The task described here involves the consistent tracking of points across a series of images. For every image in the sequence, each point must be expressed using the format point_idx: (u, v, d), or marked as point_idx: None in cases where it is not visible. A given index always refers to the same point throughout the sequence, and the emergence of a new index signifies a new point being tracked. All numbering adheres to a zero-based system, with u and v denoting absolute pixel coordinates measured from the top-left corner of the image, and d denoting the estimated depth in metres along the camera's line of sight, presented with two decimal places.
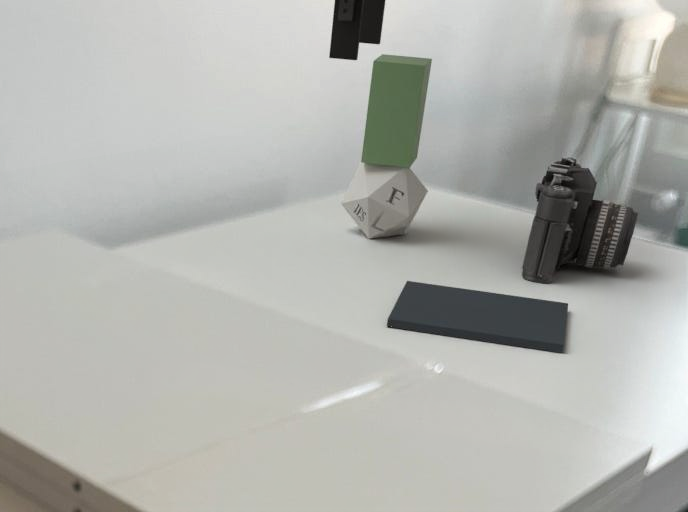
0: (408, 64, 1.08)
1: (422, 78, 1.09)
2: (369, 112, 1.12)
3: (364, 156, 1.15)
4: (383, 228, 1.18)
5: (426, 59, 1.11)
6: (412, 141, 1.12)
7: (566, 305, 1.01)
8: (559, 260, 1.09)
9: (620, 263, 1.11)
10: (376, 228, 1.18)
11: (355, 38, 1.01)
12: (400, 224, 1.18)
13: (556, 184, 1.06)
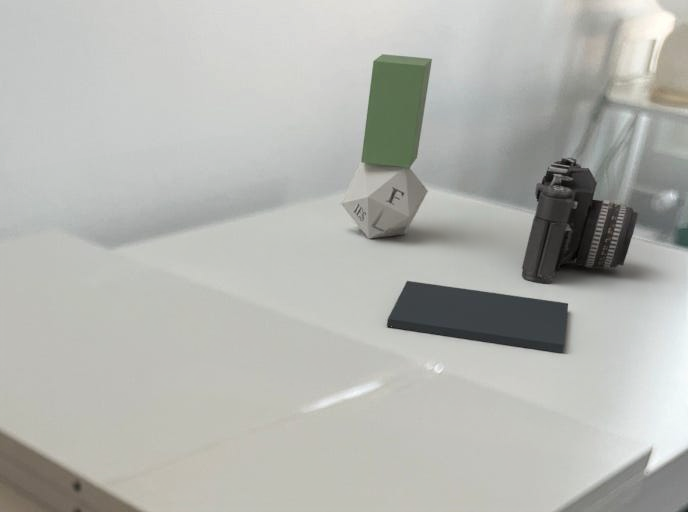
0: (408, 64, 1.08)
1: (422, 78, 1.09)
2: (369, 112, 1.12)
3: (364, 156, 1.15)
4: (383, 228, 1.18)
5: (426, 59, 1.11)
6: (412, 141, 1.12)
7: (566, 305, 1.01)
8: (559, 260, 1.09)
9: (620, 263, 1.11)
10: (376, 228, 1.18)
11: None
12: (400, 224, 1.18)
13: (556, 184, 1.06)
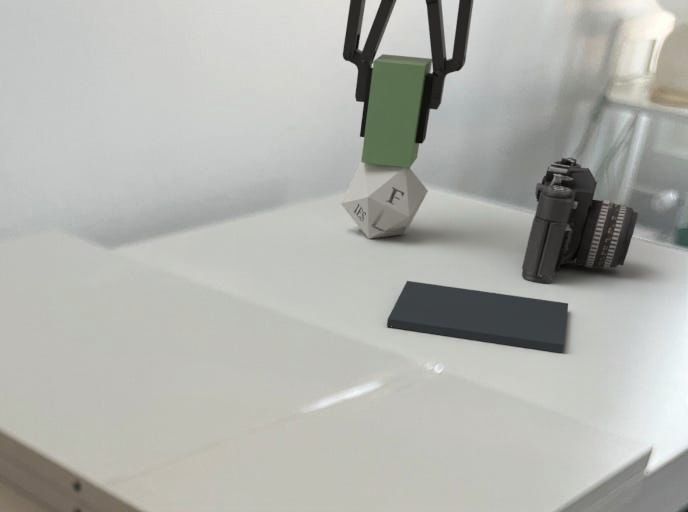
0: (408, 64, 1.08)
1: (422, 78, 1.09)
2: (369, 112, 1.12)
3: (364, 156, 1.15)
4: (383, 228, 1.18)
5: (426, 59, 1.11)
6: (412, 141, 1.12)
7: (566, 305, 1.01)
8: (559, 260, 1.09)
9: (620, 263, 1.11)
10: (376, 228, 1.18)
11: (427, 121, 1.14)
12: (400, 224, 1.18)
13: (556, 184, 1.06)
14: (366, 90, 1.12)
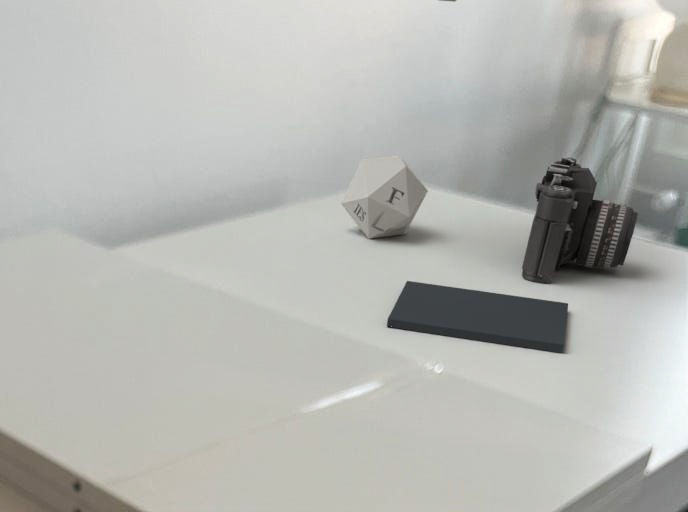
0: None
1: None
2: None
3: None
4: (383, 228, 1.18)
5: None
6: None
7: (566, 305, 1.01)
8: (559, 260, 1.09)
9: (620, 263, 1.11)
10: (376, 228, 1.18)
11: None
12: (400, 224, 1.18)
13: (556, 184, 1.06)
14: None
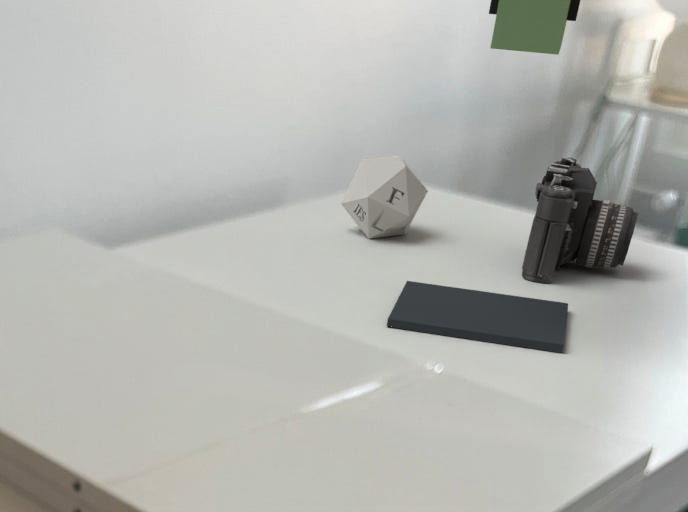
0: None
1: None
2: None
3: (495, 39, 0.85)
4: (383, 228, 1.18)
5: None
6: (564, 16, 0.82)
7: (566, 305, 1.01)
8: (559, 260, 1.09)
9: (620, 263, 1.11)
10: (376, 228, 1.18)
11: None
12: (400, 224, 1.18)
13: (556, 184, 1.06)
14: None
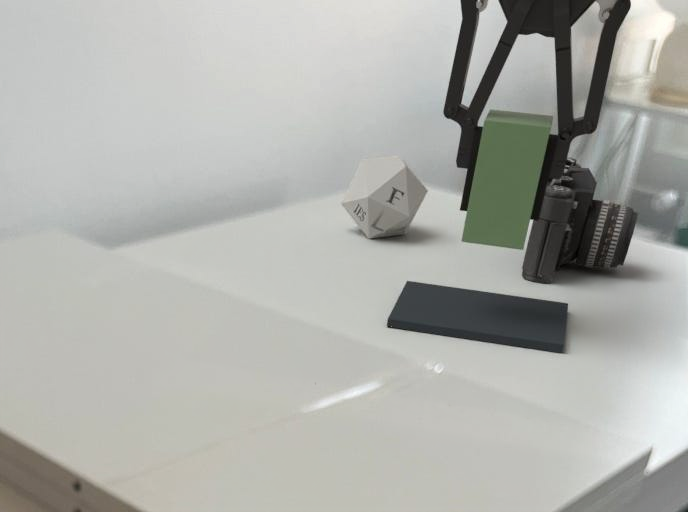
0: (529, 125, 0.86)
1: (546, 143, 0.87)
2: (475, 182, 0.90)
3: (466, 234, 0.93)
4: (383, 228, 1.18)
5: (547, 117, 0.89)
6: (528, 218, 0.90)
7: (566, 305, 1.01)
8: (559, 260, 1.09)
9: (620, 263, 1.11)
10: (376, 228, 1.18)
11: None
12: (400, 224, 1.18)
13: (556, 184, 1.06)
14: (471, 155, 0.90)
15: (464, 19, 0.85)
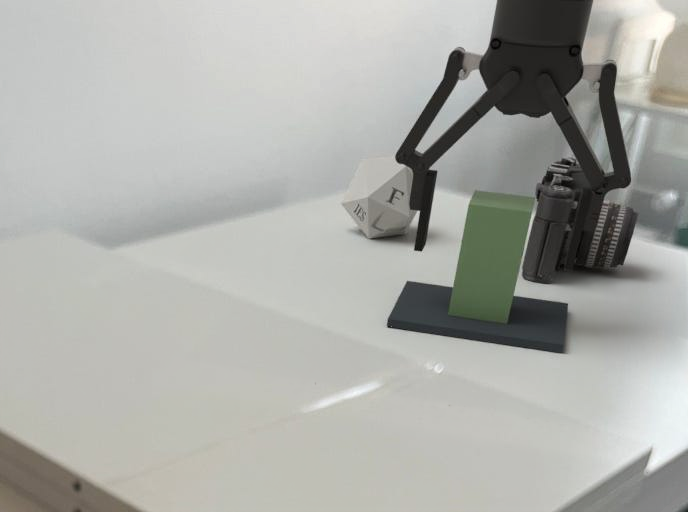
0: (511, 209, 0.90)
1: (527, 226, 0.91)
2: (460, 261, 0.94)
3: (452, 309, 0.97)
4: (383, 228, 1.18)
5: (529, 199, 0.93)
6: (511, 295, 0.94)
7: (566, 305, 1.01)
8: (559, 260, 1.09)
9: (620, 263, 1.11)
10: (376, 228, 1.18)
11: None
12: (400, 224, 1.18)
13: (556, 184, 1.06)
14: (423, 198, 0.93)
15: (444, 80, 0.88)
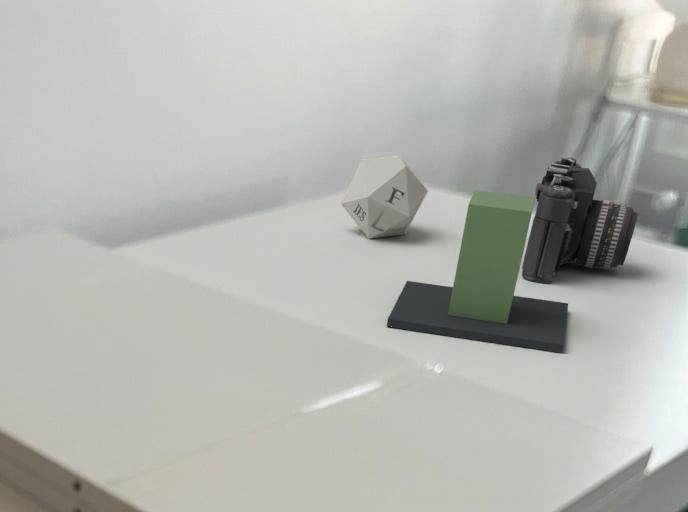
0: (511, 209, 0.90)
1: (527, 226, 0.91)
2: (460, 261, 0.94)
3: (452, 309, 0.97)
4: (383, 228, 1.18)
5: (529, 199, 0.93)
6: (511, 295, 0.94)
7: (566, 305, 1.01)
8: (559, 260, 1.09)
9: (620, 263, 1.11)
10: (376, 228, 1.18)
11: None
12: (400, 224, 1.18)
13: (556, 184, 1.06)
14: None
15: None
